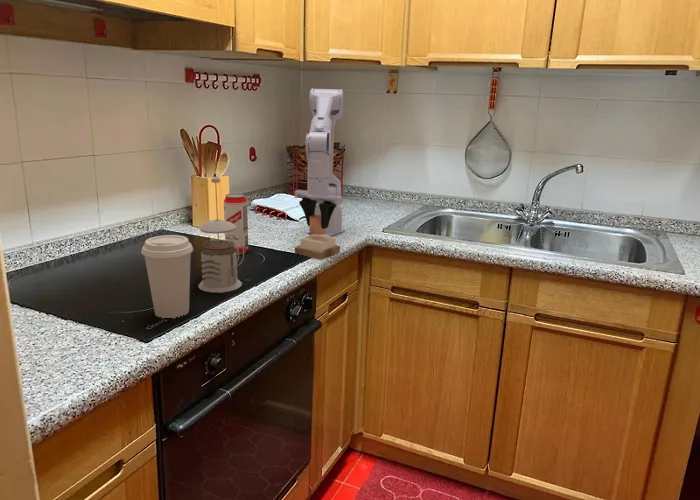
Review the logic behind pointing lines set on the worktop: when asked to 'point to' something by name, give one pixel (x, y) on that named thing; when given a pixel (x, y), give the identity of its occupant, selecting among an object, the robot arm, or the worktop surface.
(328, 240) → the cream slab
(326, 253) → the walnut base slab
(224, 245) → the french press
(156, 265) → the coffee cup
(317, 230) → the terracotta cylinder
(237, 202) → the beer can
